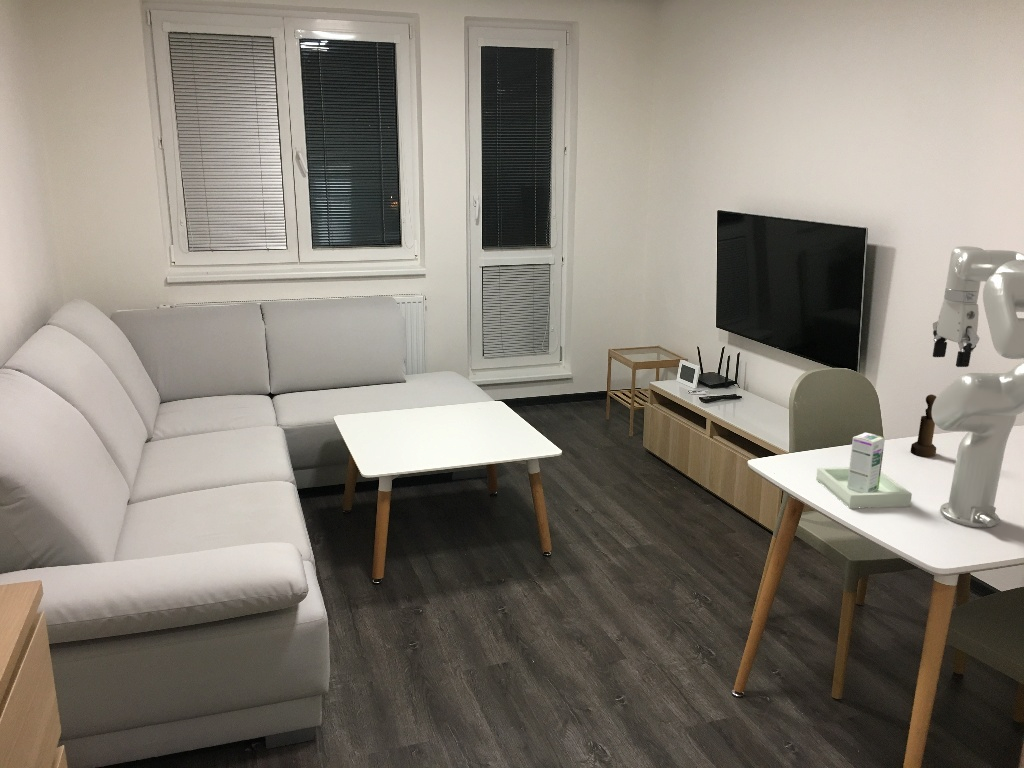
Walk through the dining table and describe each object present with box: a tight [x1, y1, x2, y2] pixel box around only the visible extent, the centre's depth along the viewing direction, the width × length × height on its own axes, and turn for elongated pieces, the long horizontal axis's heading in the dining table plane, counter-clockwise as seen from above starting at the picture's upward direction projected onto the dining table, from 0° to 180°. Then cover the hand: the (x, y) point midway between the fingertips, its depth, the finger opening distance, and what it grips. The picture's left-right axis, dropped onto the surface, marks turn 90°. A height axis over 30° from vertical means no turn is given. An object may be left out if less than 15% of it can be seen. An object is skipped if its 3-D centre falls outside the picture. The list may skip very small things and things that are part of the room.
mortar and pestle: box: [910, 394, 937, 458], centre depth 239 cm, size 7×6×18 cm
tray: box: [815, 466, 913, 509], centre depth 213 cm, size 18×16×4 cm
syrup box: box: [847, 432, 886, 493], centre depth 211 cm, size 6×6×14 cm
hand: (950, 361), depth 212 cm, fingers open, 9 cm apart
